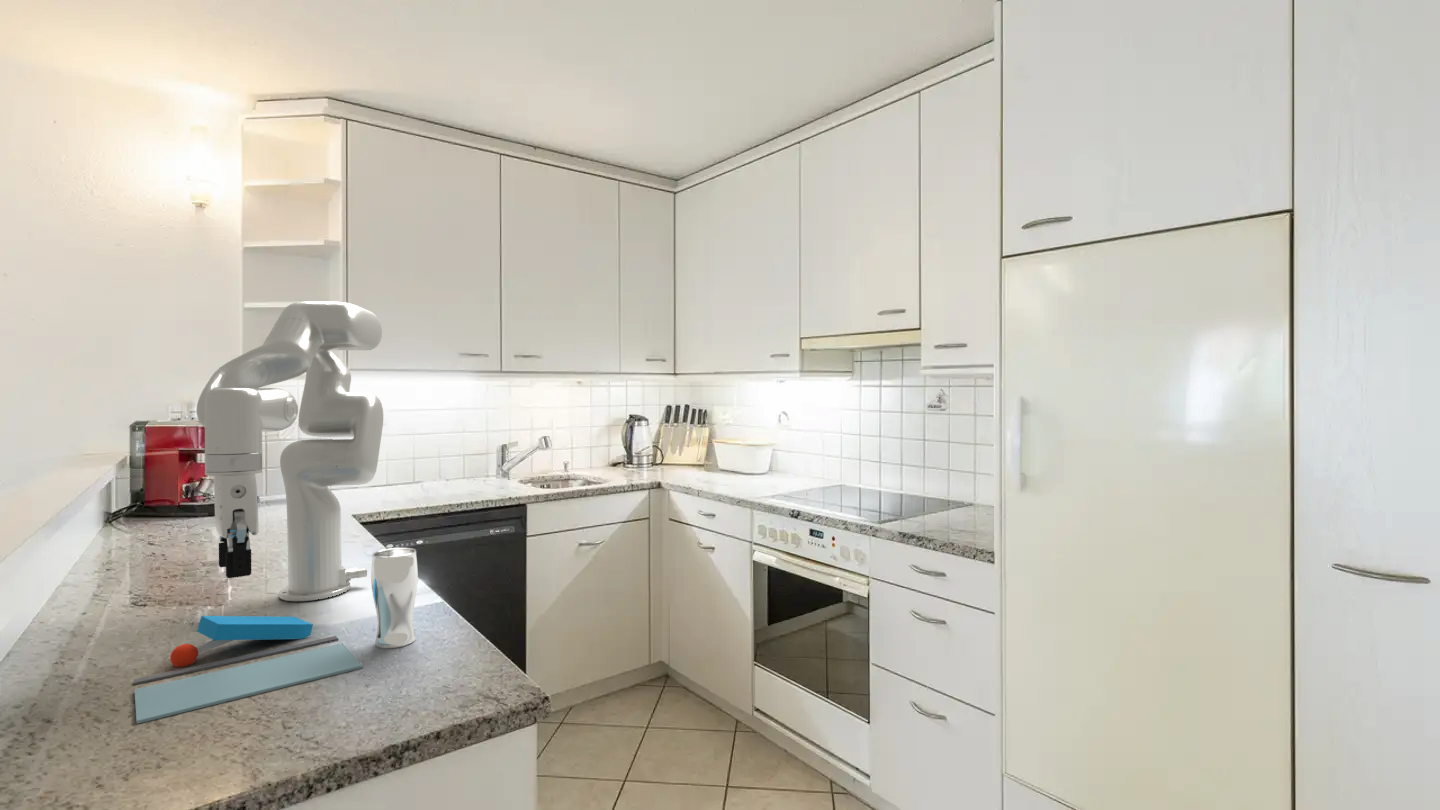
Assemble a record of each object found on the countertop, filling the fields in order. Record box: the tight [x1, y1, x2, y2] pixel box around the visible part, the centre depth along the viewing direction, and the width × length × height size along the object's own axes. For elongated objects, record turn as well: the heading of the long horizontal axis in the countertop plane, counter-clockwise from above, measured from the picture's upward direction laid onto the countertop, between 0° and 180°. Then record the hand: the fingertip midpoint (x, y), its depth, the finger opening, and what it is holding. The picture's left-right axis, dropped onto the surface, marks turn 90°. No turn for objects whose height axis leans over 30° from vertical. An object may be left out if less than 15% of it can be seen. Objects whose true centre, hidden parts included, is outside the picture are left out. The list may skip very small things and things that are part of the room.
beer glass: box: [370, 547, 419, 649], centre depth 114 cm, size 7×7×15 cm
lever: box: [169, 615, 314, 668], centre depth 111 cm, size 7×7×18 cm
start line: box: [133, 635, 339, 686], centre depth 107 cm, size 26×2×1 cm, turn 131°
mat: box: [134, 643, 364, 725], centre depth 100 cm, size 26×12×1 cm, turn 131°
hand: (234, 571), depth 111 cm, fingers open, 9 cm apart
